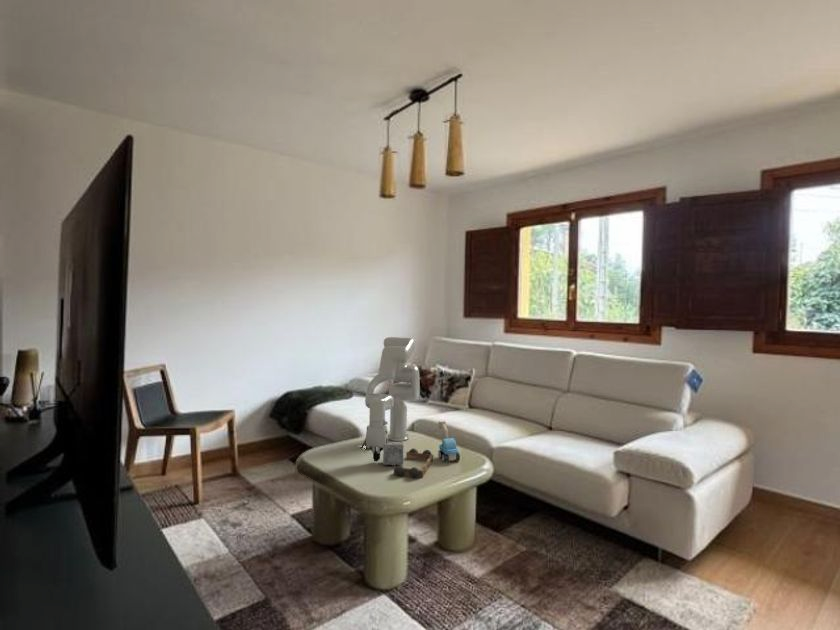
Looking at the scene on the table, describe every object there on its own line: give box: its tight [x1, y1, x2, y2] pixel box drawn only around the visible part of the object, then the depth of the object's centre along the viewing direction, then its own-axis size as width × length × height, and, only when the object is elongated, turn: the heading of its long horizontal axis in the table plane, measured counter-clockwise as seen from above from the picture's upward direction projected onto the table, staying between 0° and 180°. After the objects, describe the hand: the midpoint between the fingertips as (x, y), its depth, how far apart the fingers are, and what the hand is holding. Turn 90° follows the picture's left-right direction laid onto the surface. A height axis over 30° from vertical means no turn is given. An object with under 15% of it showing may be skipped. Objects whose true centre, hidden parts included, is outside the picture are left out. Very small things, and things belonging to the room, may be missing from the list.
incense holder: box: [382, 441, 405, 468], centre depth 221 cm, size 10×8×10 cm
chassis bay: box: [393, 448, 434, 479], centre depth 218 cm, size 26×14×4 cm, turn 166°
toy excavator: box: [437, 420, 461, 463], centre depth 231 cm, size 9×17×17 cm, turn 18°
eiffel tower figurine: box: [360, 425, 371, 451], centre depth 243 cm, size 15×10×13 cm
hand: (376, 460), depth 222 cm, fingers closed
